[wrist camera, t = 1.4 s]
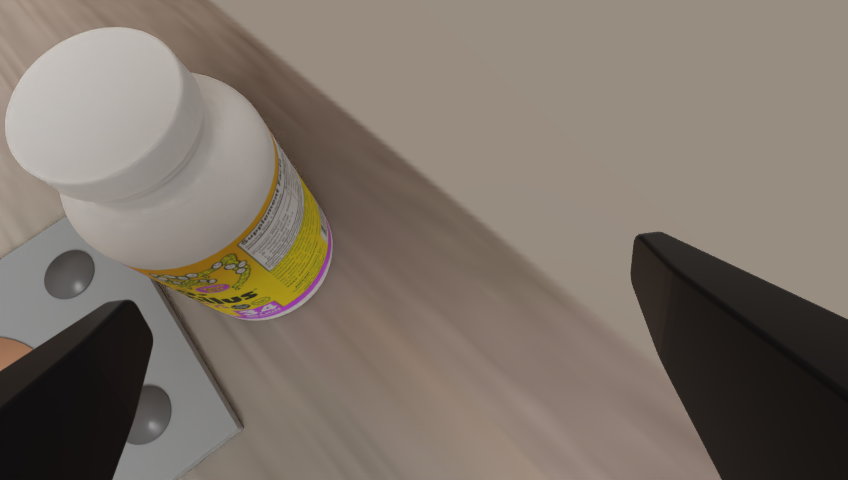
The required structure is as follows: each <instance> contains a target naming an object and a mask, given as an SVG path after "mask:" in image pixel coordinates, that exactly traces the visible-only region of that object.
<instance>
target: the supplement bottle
mask: <svg viewBox="0 0 848 480" xmlns="http://www.w3.org/2000/svg"><path fill="white" fill-rule="evenodd" d="M5 133H6V139H7V143H8V146H9V148H10V151H11V152H12V154H13V156H14V158H15V159H16V160H17V161H18V163H19V164H20V165H21V166H22V167H23V168H24V169H25V170H27V171H28V172H29V173H30V174H32V175H34V176H35V177H37V178H38V179H40V180H42V181H43V182H45V183H47V184H48V185H50V186H51V187H53V188H54V189H56V190H57V191H59V192H60V198H61V202H62V205H63V209H64V211H65V213H66V216H67V217H68V219H69V221H70V223H71V225H72V226H73V228H74V229H75V230H76V232H77V233H78V234H79V235H80V236H81V237H82V238H83V239H84V240H85V241H86V242H87V243H88V244H89V245H90V246H92V247H93V248H94V249H95V250H97V251H99V252H100V253H102V254H103V255H105V256H107V257H109V258H111V259H113V260H115V261H117V262H119V263H121V264H123V265H125V266H127V267H130V268H132V269H134V270H136V271H138V272H140V273H142V274H144V275H146V276H148V277H150V278H152V279H154V280H156V281H158V282H160V283H162V284H164V285H166V286H168V287H170V288H172V289H174V290H176V291H178V292H180V293H182V294H185V295H187V296H188V297H190V298H193V299H195V300H197V301H199V302H201V303H203V304H205V305H207V306H209V307H211V308H213V309H215V310H217V311H220V312H222V313H224V314H226V315H229V316H232V317H235V318H238V319H243V320H252V321H259V320H268V319H273V318H277V317H280V316H283V315H285V314H287V313H290V312H292V311H293V310H295V309H297V308H298V307H300V306H301V305H303V304H304V303H305V302H306V301H307V300H309V299H310V298H311V297H312V296H313V295H314V294H315V292H316V291H317V290H318V288H319V287H320V286H321V284H322V283H323V281H324V279H325V277H326V275H327V272H328V269H329V266H330V263H331V259H332V252H333V239H332V232H331V229H330V226H329V223H328V220H327V218H326V216H325V215H324V213H323V211H322V209H321V208H320V206H319V204H318V203H317V201H316V200H315V198H314V197H313V195H312V194H311V192H310V191H309V189H308V188H307V186H306V185H305V183H304V182H303V180H302V179H301V177H300V176H299V174H298V173H297V171H296V170H295V168H294V167H293V165H292V164H291V162H290V161H289V159H288V158H287V156H286V155H285V153H284V152H283V150H282V149H281V147H280V146H279V144H278V143H277V141H276V139H275V138H274V136H273V135H272V133H271V132H270V130H269V128H268V127H267V125H266V124H265V122H264V121H263V119H262V118H261V116H260V115H259V113H258V112H257V111H256V109H255V108H254V107H253V105H252V104H251V103H250V102H249V101H248V100H247V99H246V98H245V97H244V96H243V95H241V94H240V93H239V92H238V91H236V90H235V89H234V88H232V87H230V86H229V85H227V84H225V83H223V82H221V81H219V80H217V79H214V78H211V77H209V76H205V75H201V74H197V73H191V72H190V71H189V70H188V69H187V68H186V67H185V66H184V65H183V64H182V63H181V61H180V60H179V59H178V58H177V57H176V55H175V54H174V53H173V52H172V51H171V49H170V48H169V47H167V46H166V45H165V44H164V43H163V42H162V41H160V40H159V39H158V38H156V37H154V36H152V35H150V34H148V33H146V32H143V31H141V30H136V29H132V28H124V27H107V28H99V29H94V30H90V31H86V32H83V33H80V34H77V35H75V36H73V37H70V38H68V39H66V40H64V41H62V42H60V43H58V44H57V45H55V46H54V47H52V48H51V49H50V50H48V51H47V52H45V53H44V54H43V55H42V56H41V57H39V58H38V59H37V60H36V61H35V62H34V63H33V64H32V65H31V66H30V67H29V68H28V70H27V71H26V72H25V74H24V75H23V76H22V78H21V79H20V81H19V82H18V84H17V86H16V88H15V90H14V92H13V94H12V96H11V99H10V102H9V105H8V108H7V111H6V118H5Z"/></svg>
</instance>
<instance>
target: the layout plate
mask: <svg viewBox="0 0 848 480" xmlns="http://www.w3.org/2000/svg"><path fill="white" fill-rule="evenodd" d="M124 299H129V300H132V301H134V302H135V303H136V304H137V306H138V308H139V310H140V311H141V313H142V315H143V317H144V318H145V320H146V322H147V324H148V326H149V327H150V329H151V331H152V334H153V348H152V352H151V356H150V360H149V364H148V368H147V372H146V376H145V380H144V384H143V388H142V392H141V396H140V400H139V404H138V408H137V412H136V415H135V419H134V422H133V425H132V428H131V431H130V434H129V436H128V439H127V442H126V445H125V447H124V450H123V453H122V455H121V458H120V461H119V464H118V466H117V469H116V472H115V474H114V477H113V480H178V479H179V478H180V477H181V476H183V475H184V474H185V473H187V472H188V471H189V470H191V469H192V468H193V467H194V466H196V465H197V464H198V463H200V462H201V461H202V460H204V459H205V458H206V457H207V456H209V455H210V454H211V453H213V452H214V451H215V450H217V449H218V448H219V447H220V446H222V445H223V444H224V443H226V442H227V441H228V440H230V439H231V438H232V437H233V436H235V435H236V434H237V433H239V432H240V431H241V430H243V429H244V428H243V427H242V425H241V423H240V422H239V420H238V418H237V416H236V415H235V413H234V411H233V410H232V408H231V406H230V405H229V403H228V401H227V400H226V398H225V396H224V395H223V393H222V391H221V390H220V388H219V386H218V384H217V383H216V381H215V379H214V378H213V376H212V374H211V373H210V371H209V369H208V368H207V366H206V364H205V363H204V361H203V359H202V358H201V356H200V354H199V352H198V351H197V349H196V347H195V346H194V344H193V342H192V341H191V339H190V337H189V336H188V334H187V332H186V331H185V329H184V327H183V326H182V324H181V322H180V320H179V319H178V317H177V315H176V314H175V312H174V310H173V309H172V307H171V305H170V304H169V302H168V300H167V299H166V297H165V295H164V294H163V292H162V290H161V288H160V287H159V285H158V283H157V282H156V280H154V279H152V278H150V277H148V276H146V275H144V274H142V273H140V272H138V271H136V270H134V269H132V268H130V267H127V266H125V265H123V264H121V263H119V262H117V261H115V260H113V259H111V258H109V257H107V256H105V255H103V254H102V253H100V252H99V251H97V250H95V249H94V248H93V247H92V246H90V245H89V244H88V243H87V242H86V241H85V240H84V239H83V238H82V237H81V236H80V235H79V234H78V233H77V232H76V230H75V229H74V228H73V226H72V225H71V223H70V221H69V219H68V217H67V216H65V217H64V218H62V219H61V220H59V221H58V222H56V223H55V224H53V225H52V226H50V227H49V228H47V229H46V230H44V231H43V232H41V233H39V234H38V235H36V236H35V237H33V238H32V239H30V240H29V241H27V242H26V243H24V244H23V245H21V246H20V247H18V248H17V249H15V250H14V251H12V252H11V253H9V254H8V255H6V256H5V257H3V258H2V259H0V371H1V370H2V369H4V368H6V367H7V366H9V365H10V364H12V363H13V362H15V361H16V360H18V359H19V358H21V357H23V356H24V355H26V354H27V353H29V352H30V351H32V350H33V349H35V348H36V347H38V346H39V345H41V344H43V343H44V342H46V341H47V340H49V339H50V338H52V337H53V336H55V335H56V334H58V333H60V332H61V331H63V330H64V329H66V328H67V327H69V326H70V325H72V324H73V323H75V322H77V321H78V320H80V319H81V318H83V317H84V316H86V315H87V314H89V313H90V312H92V311H94V310H95V309H97V308H98V307H100V306H101V305H103V304H104V303H106V302H109V301H116V300H124Z"/></svg>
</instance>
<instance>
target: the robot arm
mask: <svg viewBox="0 0 848 480" xmlns="http://www.w3.org/2000/svg"><path fill="white" fill-rule="evenodd" d="M631 281H632V285H633V288H634V291H635V294H636V296H637V299H638V302H639V305H640V307H641V310H642V313H643V315H644V318H645V321H646V324H647V326H648V329H649V332H650V335H651V337H652V340H653V343H654V345H655V348H656V350H657V352H658V355H659V358H660V360H661V362H662V364H663V366H664V368H665V370H666V372H667V374H668V376H669V378H670V380H671V382H672V384H673V386H674V388H675V390H676V392H677V394H678V396H679V398H680V400H681V401H682V403H683V405H684V407H685V409H686V411H687V413H688V415H689V417H690V419H691V421H692V423H693V425H694V427H695V429H696V431H697V433H698V434H699V436H700V438H701V440H702V442H703V444H704V446H705V448H706V450H707V452H708V454H709V456H710V458H711V460H712V462H713V464H714V465H715V467H716V469H717V471H718V473H719V475H720V477H721V479H722V480H848V319H846V318H844V317H842V316H840V315H837V314H835V313H833V312H831V311H829V310H827V309H825V308H822V307H820V306H818V305H816V304H814V303H812V302H810V301H808V300H806V299H803V298H801V297H799V296H797V295H795V294H793V293H791V292H789V291H786V290H784V289H782V288H780V287H778V286H776V285H774V284H772V283H769V282H767V281H765V280H763V279H761V278H759V277H757V276H754V275H752V274H750V273H748V272H746V271H744V270H742V269H740V268H737V267H735V266H733V265H731V264H729V263H727V262H725V261H723V260H720V259H718V258H716V257H714V256H712V255H709V254H708V253H706V252H703V251H701V250H699V249H697V248H695V247H693V246H691V245H689V244H686V243H684V242H682V241H680V240H678V239H676V238H674V237H671V236H669V235H667V234H665V233H663V232H652V233H644V234H639V235H637V236H636V237H635V240H634V245H633V255H632V264H631ZM152 348H153V334H152V331H151V329H150V327H149V326H148V324H147V322H146V320H145V318H144V317H143V315H142V313H141V311H140V310H139V308H138V306H137V304H136V303H135V302H134V301H132V300H129V299H124V300H116V301H109V302H106V303H104V304H103V305H101V306H100V307H98V308H97V309H95V310H94V311H92V312H90V313H89V314H87V315H86V316H84V317H83V318H81V319H80V320H78V321H77V322H75V323H73V324H72V325H70V326H69V327H67V328H66V329H64V330H63V331H61V332H60V333H58V334H56V335H55V336H53V337H52V338H50V339H49V340H47V341H46V342H44V343H43V344H41V345H39V346H38V347H36V348H35V349H33V350H32V351H30V352H29V353H27V354H26V355H24V356H23V357H21V358H19V359H18V360H16V361H15V362H13V363H12V364H10V365H9V366H7V367H6V368H4V369H2V370H1V371H0V480H113V477H114V474H115V472H116V469H117V466H118V464H119V461H120V458H121V455H122V453H123V450H124V447H125V445H126V442H127V439H128V436H129V434H130V431H131V428H132V425H133V422H134V419H135V415H136V412H137V408H138V404H139V400H140V396H141V392H142V388H143V384H144V380H145V376H146V372H147V368H148V364H149V360H150V356H151V352H152Z"/></svg>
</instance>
